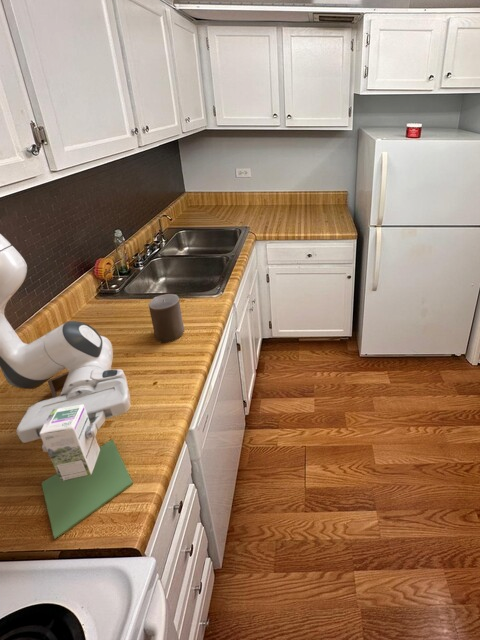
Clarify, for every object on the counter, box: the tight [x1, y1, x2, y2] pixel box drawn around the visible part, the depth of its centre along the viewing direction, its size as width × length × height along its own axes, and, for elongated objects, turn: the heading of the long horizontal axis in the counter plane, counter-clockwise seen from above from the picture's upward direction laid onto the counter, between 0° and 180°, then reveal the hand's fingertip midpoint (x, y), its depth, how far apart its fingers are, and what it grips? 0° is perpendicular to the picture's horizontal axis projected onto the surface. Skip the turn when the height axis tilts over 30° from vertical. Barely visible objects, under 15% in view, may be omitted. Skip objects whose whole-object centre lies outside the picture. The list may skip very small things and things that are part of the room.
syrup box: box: [39, 404, 100, 482], centre depth 68 cm, size 6×6×14 cm
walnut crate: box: [47, 371, 69, 397], centre depth 94 cm, size 14×14×4 cm
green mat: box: [40, 439, 134, 540], centre depth 72 cm, size 14×14×1 cm
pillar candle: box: [148, 293, 185, 343], centre depth 116 cm, size 10×10×15 cm
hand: (69, 442), depth 66 cm, fingers closed on syrup box, 6 cm apart
